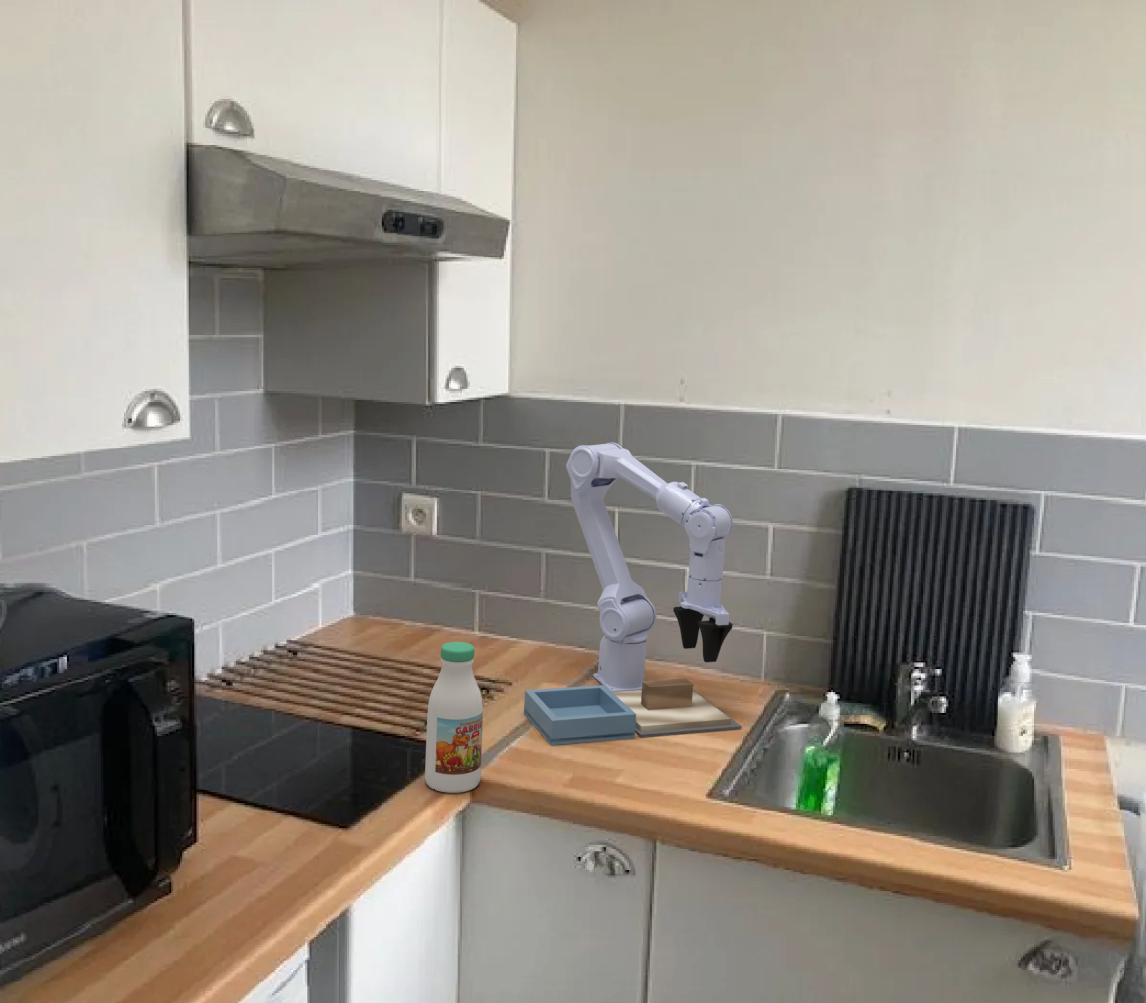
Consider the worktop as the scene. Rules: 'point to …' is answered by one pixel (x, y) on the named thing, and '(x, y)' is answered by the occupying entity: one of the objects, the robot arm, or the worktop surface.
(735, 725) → the mat
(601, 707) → the dish
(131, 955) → the worktop surface
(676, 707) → the lid
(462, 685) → the milk bottle
